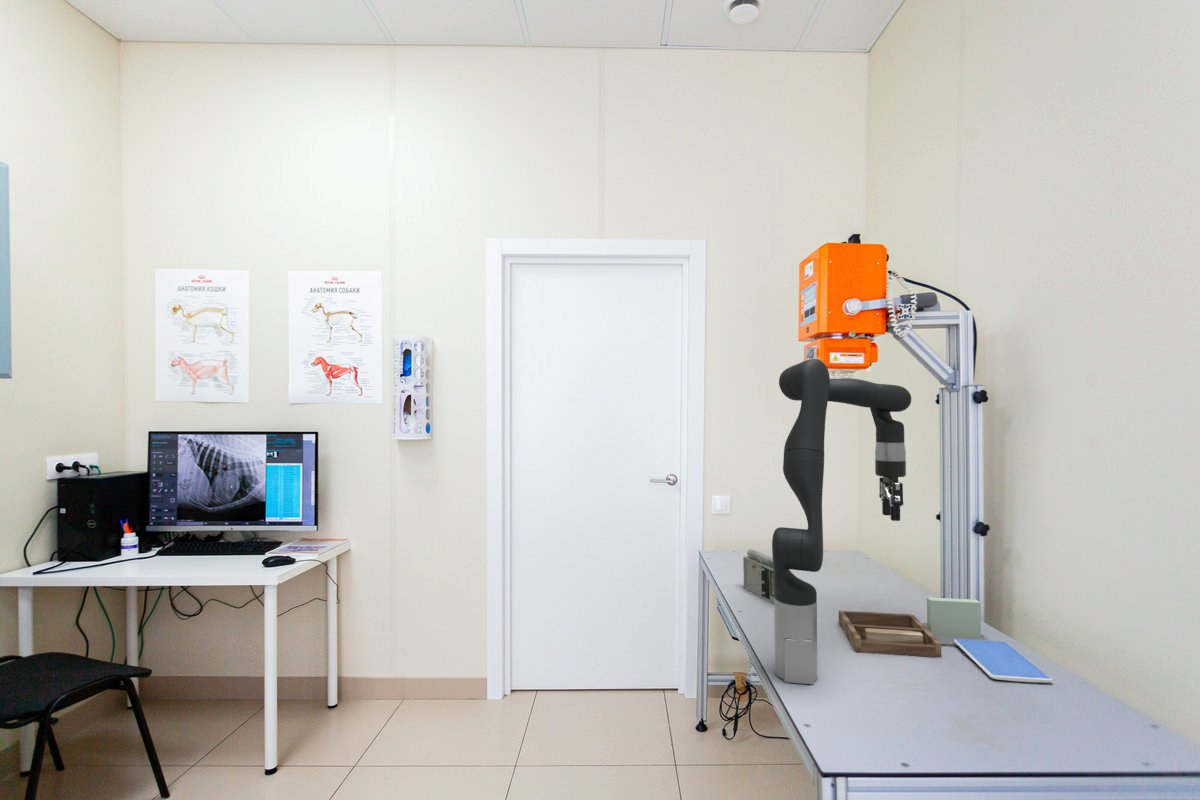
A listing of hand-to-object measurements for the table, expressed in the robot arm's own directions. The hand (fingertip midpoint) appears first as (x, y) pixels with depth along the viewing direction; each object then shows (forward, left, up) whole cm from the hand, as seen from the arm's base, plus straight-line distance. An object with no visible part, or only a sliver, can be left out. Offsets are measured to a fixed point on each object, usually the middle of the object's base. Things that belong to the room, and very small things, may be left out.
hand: (891, 517), depth 157 cm
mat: (-4, -14, -30) cm, 33 cm away
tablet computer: (-19, -18, -30) cm, 40 cm away
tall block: (-4, -14, -30) cm, 33 cm away
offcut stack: (-13, +4, -30) cm, 33 cm away
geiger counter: (+17, +30, -30) cm, 46 cm away
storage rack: (-9, +4, -30) cm, 32 cm away
